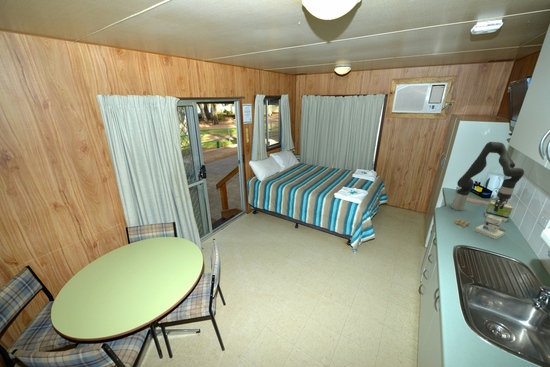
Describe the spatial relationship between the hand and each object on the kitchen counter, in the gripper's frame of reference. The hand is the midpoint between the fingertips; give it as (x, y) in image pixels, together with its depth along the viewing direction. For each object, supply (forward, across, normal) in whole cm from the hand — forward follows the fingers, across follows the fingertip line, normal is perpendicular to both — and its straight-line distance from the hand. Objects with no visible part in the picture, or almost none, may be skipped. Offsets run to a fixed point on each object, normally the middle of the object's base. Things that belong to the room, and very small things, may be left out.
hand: (498, 210), depth 176 cm
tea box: (+22, -37, -10) cm, 44 cm away
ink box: (+19, 0, 0) cm, 19 cm away
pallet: (+22, +5, -18) cm, 29 cm away
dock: (+22, 0, 0) cm, 22 cm away
